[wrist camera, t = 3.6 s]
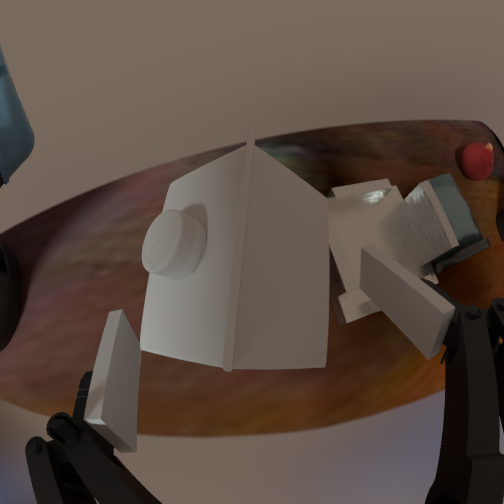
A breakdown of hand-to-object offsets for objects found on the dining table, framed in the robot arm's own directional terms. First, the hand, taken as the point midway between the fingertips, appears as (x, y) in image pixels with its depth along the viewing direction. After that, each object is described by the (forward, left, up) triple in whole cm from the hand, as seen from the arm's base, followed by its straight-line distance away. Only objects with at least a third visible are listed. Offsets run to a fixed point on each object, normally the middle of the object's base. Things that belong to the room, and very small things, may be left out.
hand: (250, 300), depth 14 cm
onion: (+31, +25, -11) cm, 42 cm away
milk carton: (-1, 0, -11) cm, 11 cm away
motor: (+15, +10, -11) cm, 22 cm away
